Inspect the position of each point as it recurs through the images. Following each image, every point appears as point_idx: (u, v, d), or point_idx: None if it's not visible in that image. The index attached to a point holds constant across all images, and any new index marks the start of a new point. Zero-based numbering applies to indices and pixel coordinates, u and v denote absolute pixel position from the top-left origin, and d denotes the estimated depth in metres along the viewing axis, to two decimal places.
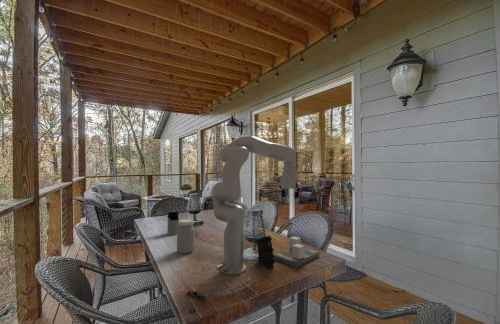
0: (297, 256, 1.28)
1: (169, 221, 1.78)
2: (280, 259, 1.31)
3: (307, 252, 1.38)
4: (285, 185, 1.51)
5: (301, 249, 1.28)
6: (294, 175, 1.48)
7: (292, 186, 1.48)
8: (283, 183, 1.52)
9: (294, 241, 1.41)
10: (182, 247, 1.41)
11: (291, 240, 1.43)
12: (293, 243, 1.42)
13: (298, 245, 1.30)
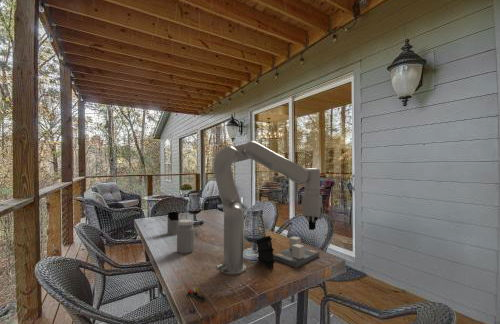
0: (297, 256, 1.28)
1: (169, 221, 1.78)
2: (280, 259, 1.31)
3: (307, 252, 1.38)
4: (306, 212, 1.24)
5: (301, 249, 1.28)
6: (318, 200, 1.20)
7: (316, 214, 1.20)
8: (304, 209, 1.25)
9: (294, 241, 1.41)
10: (182, 247, 1.41)
11: (291, 240, 1.43)
12: (293, 243, 1.42)
13: (298, 245, 1.30)
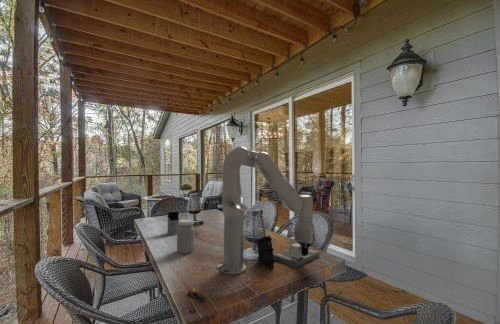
0: (296, 256, 1.28)
1: (169, 221, 1.78)
2: (280, 259, 1.31)
3: None
4: (299, 238, 1.26)
5: (299, 248, 1.29)
6: (310, 228, 1.23)
7: (308, 241, 1.23)
8: (297, 235, 1.27)
9: (294, 241, 1.41)
10: (182, 247, 1.41)
11: (291, 240, 1.43)
12: (293, 243, 1.42)
13: (297, 245, 1.31)
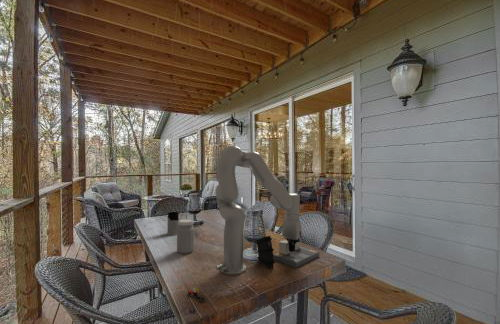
0: (283, 252, 1.34)
1: (169, 221, 1.78)
2: (280, 259, 1.31)
3: (307, 252, 1.38)
4: (287, 235, 1.32)
5: (287, 245, 1.34)
6: (297, 224, 1.29)
7: (295, 237, 1.28)
8: (284, 232, 1.33)
9: None
10: (182, 247, 1.41)
11: None
12: None
13: (285, 241, 1.37)
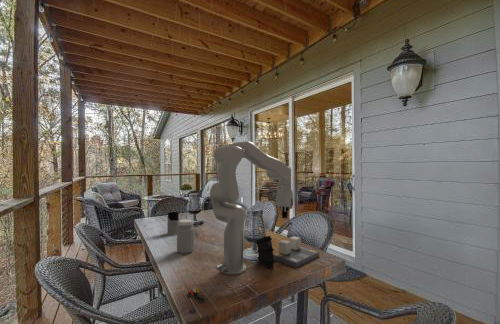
0: (283, 252, 1.34)
1: (169, 221, 1.78)
2: (280, 259, 1.31)
3: (307, 252, 1.38)
4: (280, 203, 1.48)
5: (287, 245, 1.34)
6: (289, 193, 1.44)
7: (287, 204, 1.44)
8: (278, 201, 1.49)
9: (294, 241, 1.41)
10: (182, 247, 1.41)
11: (291, 240, 1.43)
12: (293, 243, 1.42)
13: (285, 241, 1.37)
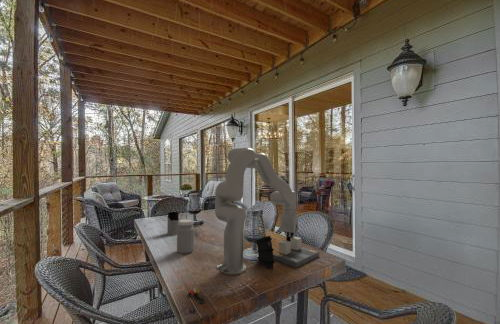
0: (283, 252, 1.34)
1: (169, 221, 1.78)
2: (280, 259, 1.31)
3: (307, 252, 1.38)
4: (284, 228, 1.45)
5: (287, 245, 1.34)
6: (294, 218, 1.42)
7: (292, 230, 1.42)
8: (282, 225, 1.47)
9: (295, 241, 1.41)
10: (182, 247, 1.41)
11: (292, 240, 1.42)
12: (294, 243, 1.41)
13: (285, 241, 1.37)
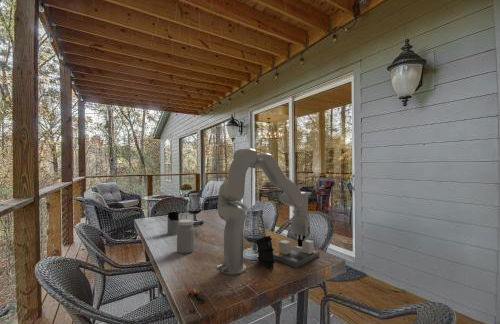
0: (283, 252, 1.34)
1: (169, 221, 1.78)
2: (280, 259, 1.31)
3: None
4: (296, 231, 1.40)
5: (287, 245, 1.34)
6: (306, 221, 1.37)
7: (304, 233, 1.36)
8: (293, 228, 1.41)
9: (307, 245, 1.35)
10: (182, 247, 1.41)
11: (304, 244, 1.37)
12: (306, 247, 1.36)
13: (285, 241, 1.37)
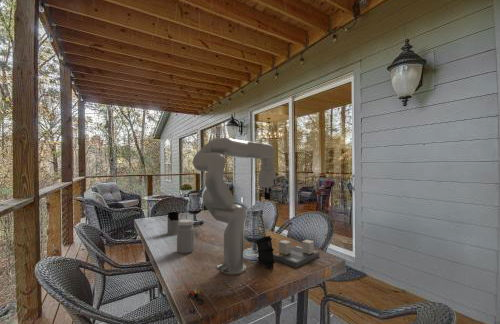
0: (283, 252, 1.34)
1: (169, 221, 1.78)
2: (280, 259, 1.31)
3: None
4: (262, 184, 1.42)
5: (287, 245, 1.34)
6: (271, 173, 1.39)
7: (269, 185, 1.38)
8: (260, 182, 1.43)
9: (307, 245, 1.35)
10: (182, 247, 1.41)
11: (304, 244, 1.36)
12: (306, 247, 1.35)
13: (285, 241, 1.37)
